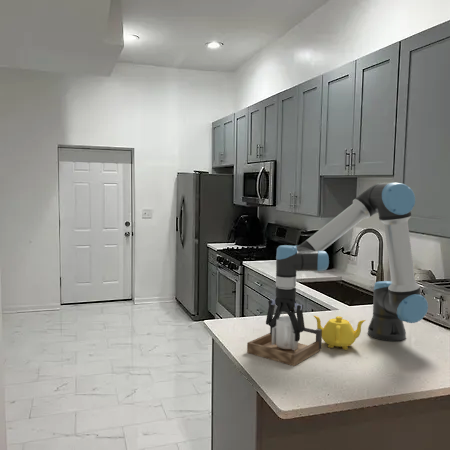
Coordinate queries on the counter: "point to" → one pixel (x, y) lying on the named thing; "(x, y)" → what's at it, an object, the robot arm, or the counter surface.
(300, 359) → the wooden serving tray
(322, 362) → the counter surface
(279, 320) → the mug
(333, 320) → the teapot
